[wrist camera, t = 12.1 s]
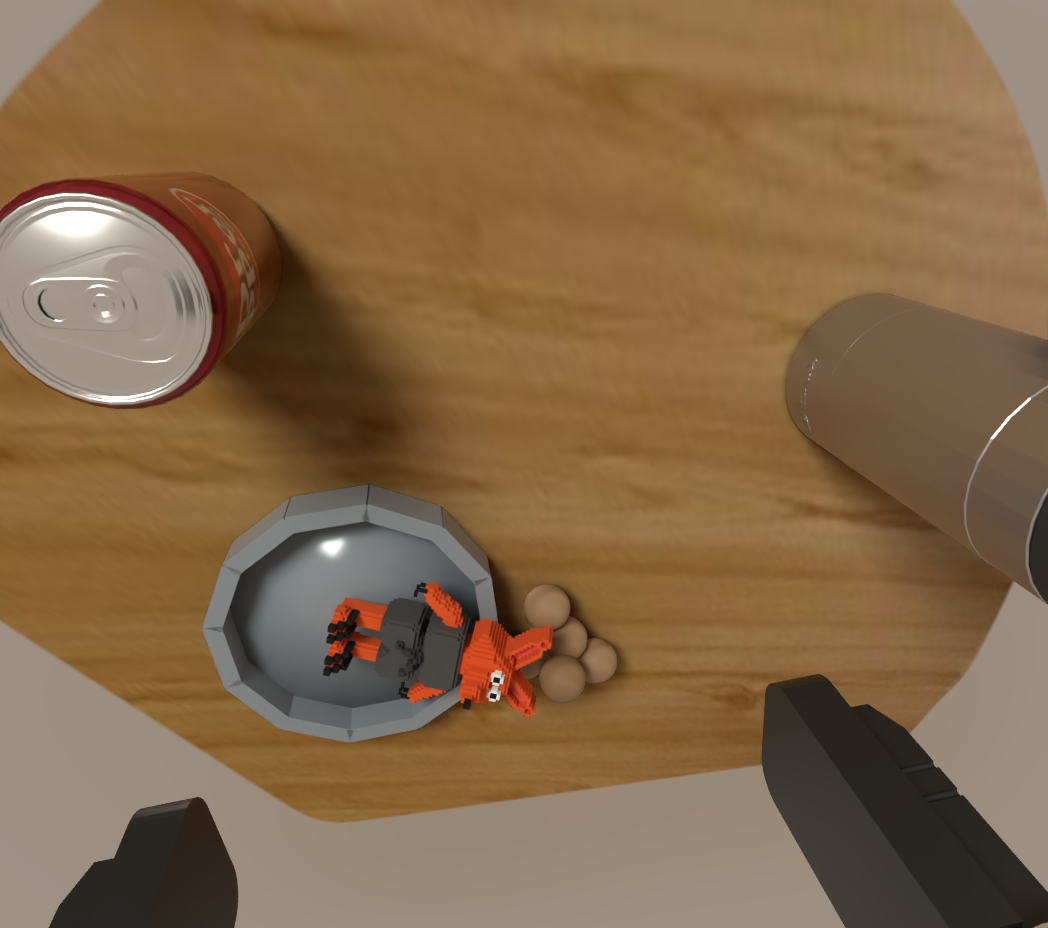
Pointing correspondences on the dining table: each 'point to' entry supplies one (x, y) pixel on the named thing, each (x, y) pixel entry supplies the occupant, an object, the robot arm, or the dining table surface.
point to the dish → (315, 592)
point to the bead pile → (565, 647)
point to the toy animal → (437, 649)
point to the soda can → (132, 283)
